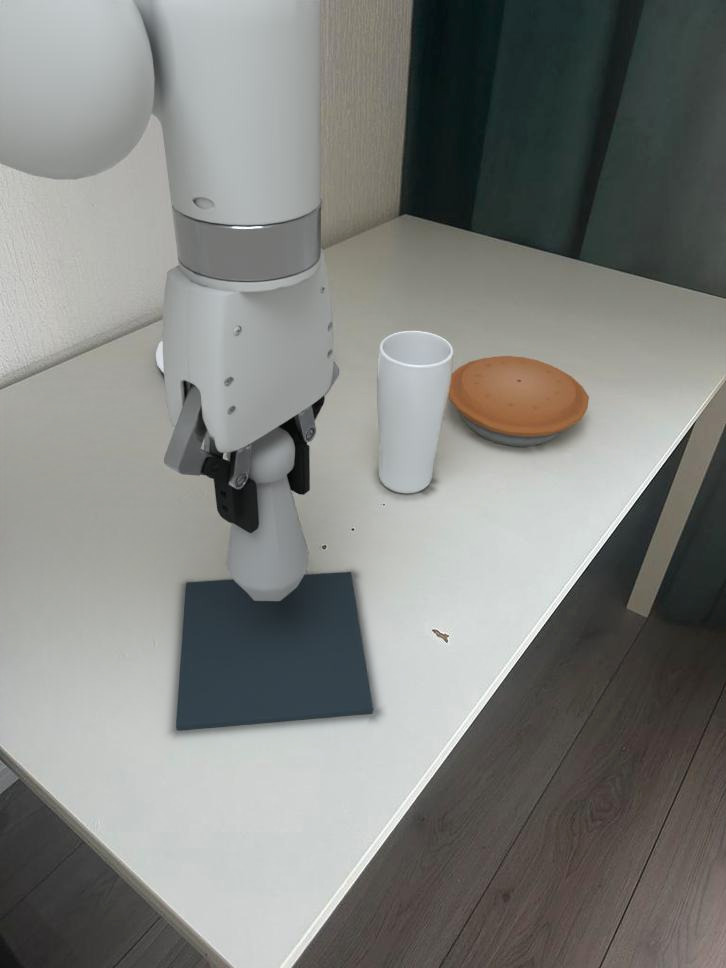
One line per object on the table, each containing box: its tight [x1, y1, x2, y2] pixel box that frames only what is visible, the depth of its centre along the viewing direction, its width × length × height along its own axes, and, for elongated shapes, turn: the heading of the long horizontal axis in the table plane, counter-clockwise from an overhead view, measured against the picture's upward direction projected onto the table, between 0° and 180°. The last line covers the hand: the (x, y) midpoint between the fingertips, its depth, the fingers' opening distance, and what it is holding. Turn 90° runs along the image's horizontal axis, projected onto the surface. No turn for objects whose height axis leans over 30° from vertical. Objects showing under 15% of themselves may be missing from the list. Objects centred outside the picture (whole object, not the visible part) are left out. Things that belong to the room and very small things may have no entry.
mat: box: [175, 571, 374, 731], centre depth 61 cm, size 14×14×1 cm
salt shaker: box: [225, 427, 310, 601], centre depth 52 cm, size 6×6×13 cm
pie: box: [448, 355, 590, 448], centre depth 86 cm, size 16×16×5 cm
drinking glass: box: [376, 330, 454, 494], centre depth 73 cm, size 7×7×15 cm
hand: (264, 501), depth 52 cm, fingers closed on salt shaker, 4 cm apart
